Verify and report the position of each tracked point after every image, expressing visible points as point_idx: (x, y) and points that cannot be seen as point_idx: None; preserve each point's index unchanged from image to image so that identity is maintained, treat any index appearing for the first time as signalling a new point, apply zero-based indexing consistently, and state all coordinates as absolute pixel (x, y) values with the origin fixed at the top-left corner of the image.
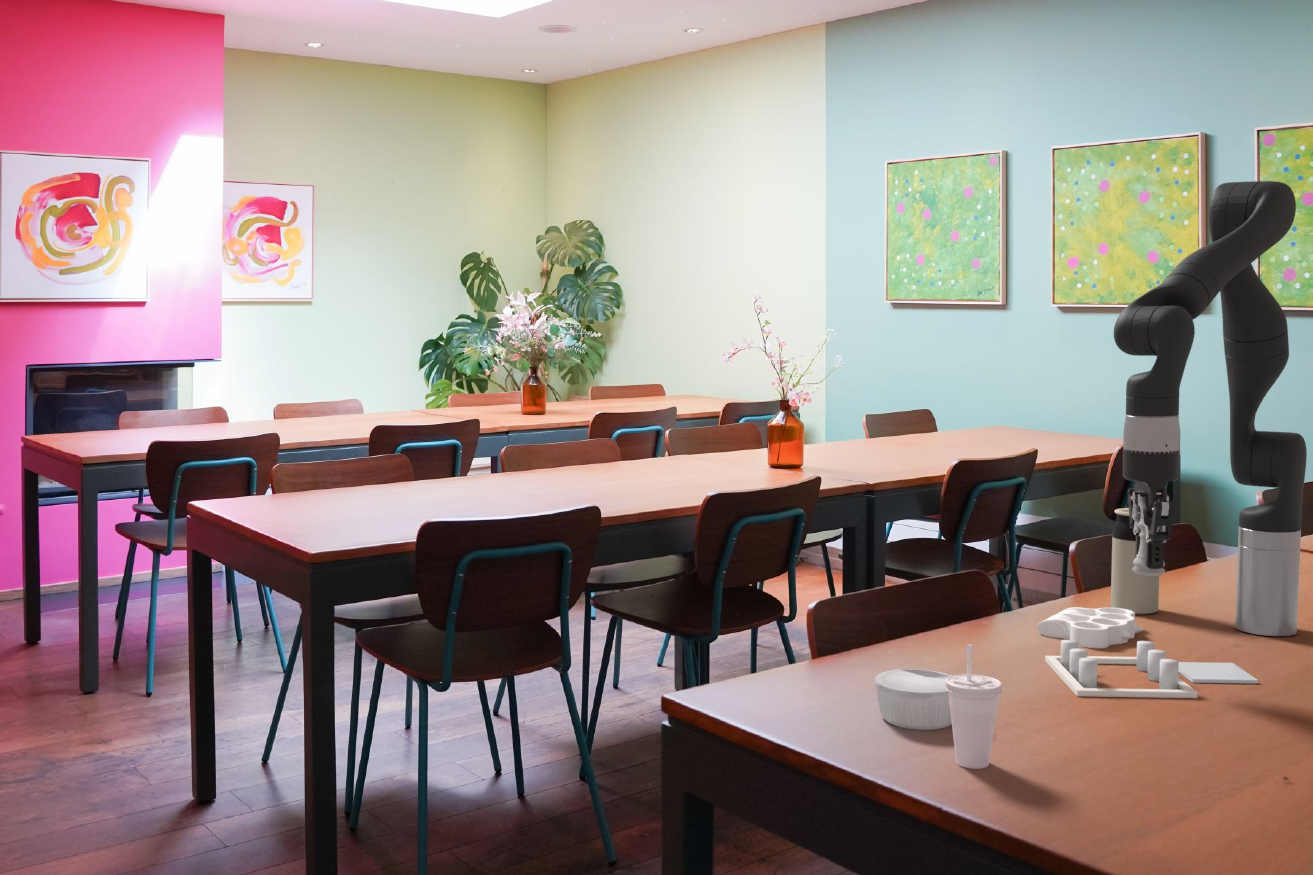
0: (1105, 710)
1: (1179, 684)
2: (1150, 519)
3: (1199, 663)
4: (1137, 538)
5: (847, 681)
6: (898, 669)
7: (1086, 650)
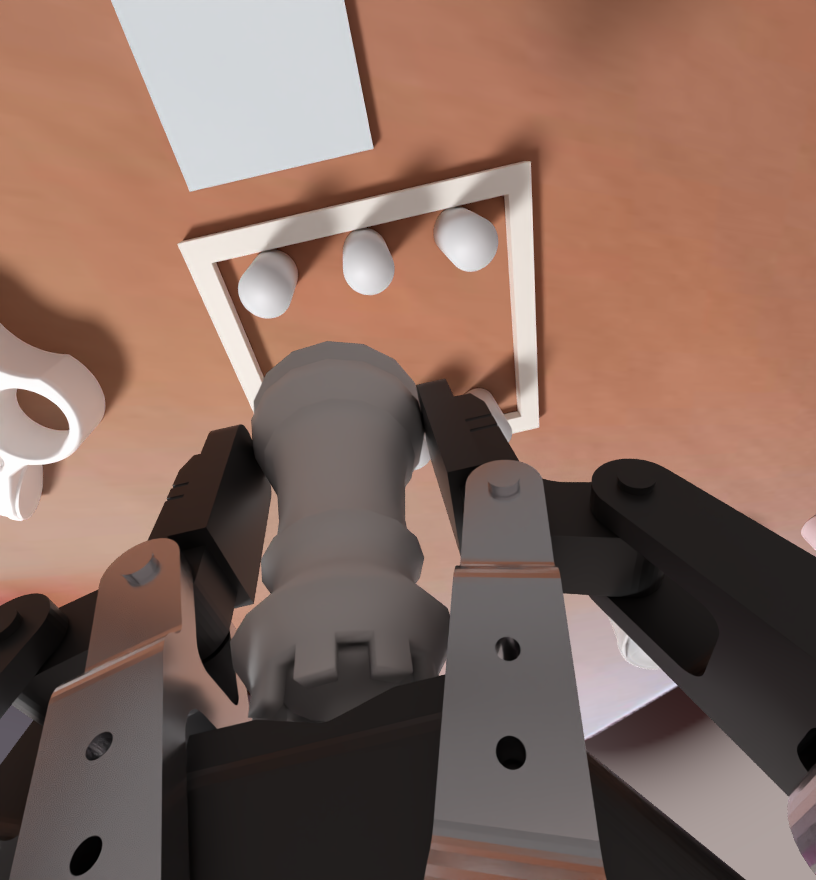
0: (620, 376)
1: (461, 203)
2: (205, 689)
3: (162, 85)
4: (255, 591)
5: None
6: (628, 659)
7: None
